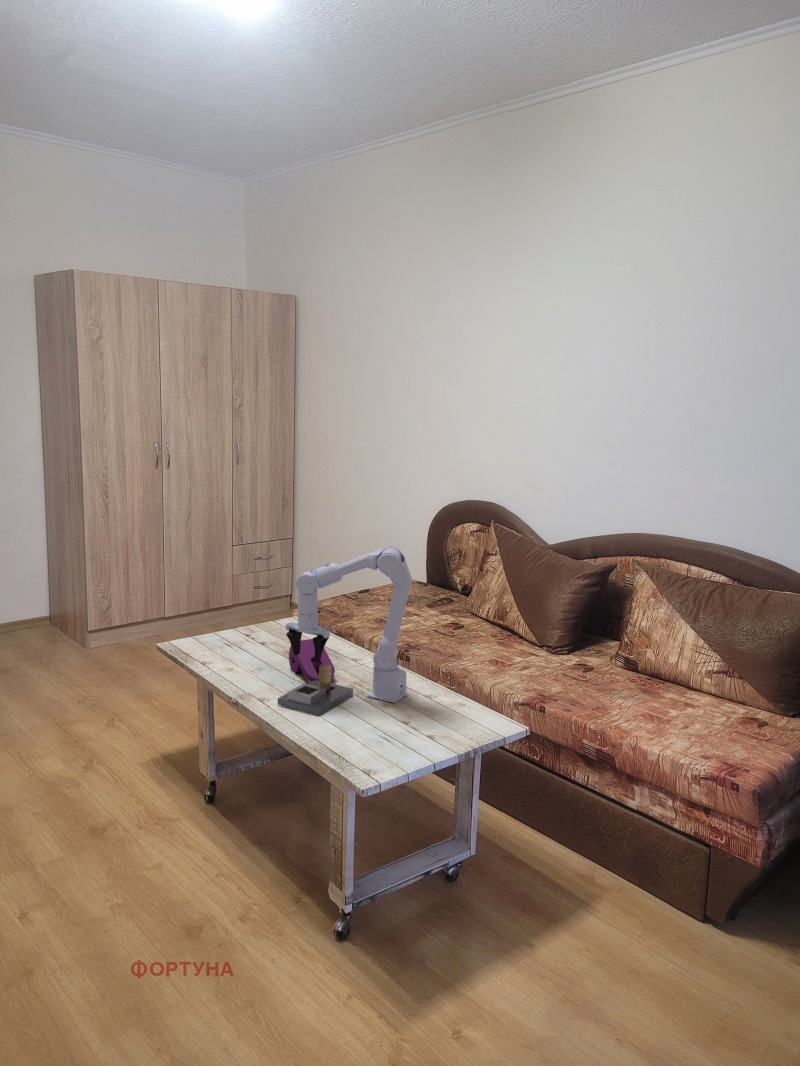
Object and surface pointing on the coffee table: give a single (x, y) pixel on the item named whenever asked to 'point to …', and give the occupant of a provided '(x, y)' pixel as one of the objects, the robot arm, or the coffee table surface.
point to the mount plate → (314, 697)
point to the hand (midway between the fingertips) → (307, 656)
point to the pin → (325, 677)
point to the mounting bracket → (308, 660)
